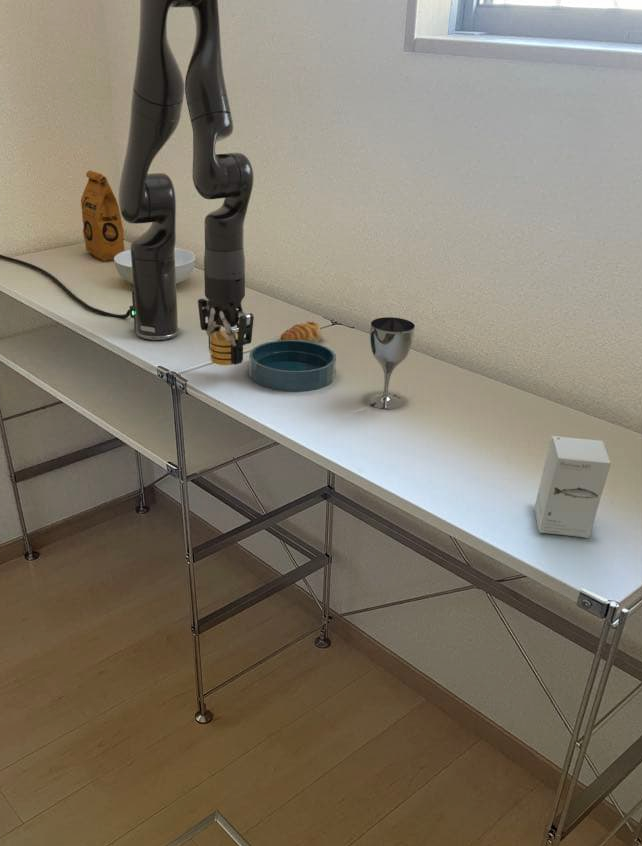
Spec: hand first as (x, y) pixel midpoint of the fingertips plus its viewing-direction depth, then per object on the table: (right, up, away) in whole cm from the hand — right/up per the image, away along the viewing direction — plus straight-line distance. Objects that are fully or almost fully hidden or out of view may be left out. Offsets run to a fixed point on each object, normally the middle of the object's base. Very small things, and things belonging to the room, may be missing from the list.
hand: (225, 358), depth 162 cm
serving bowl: (-22, +32, +55) cm, 67 cm away
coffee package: (-39, +46, +75) cm, 96 cm away
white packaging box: (+52, -33, -39) cm, 73 cm away
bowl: (+13, -3, +5) cm, 14 cm away
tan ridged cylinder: (0, 0, 0) cm, 1 cm away
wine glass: (+31, -9, -4) cm, 32 cm away
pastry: (+16, +8, +22) cm, 28 cm away
